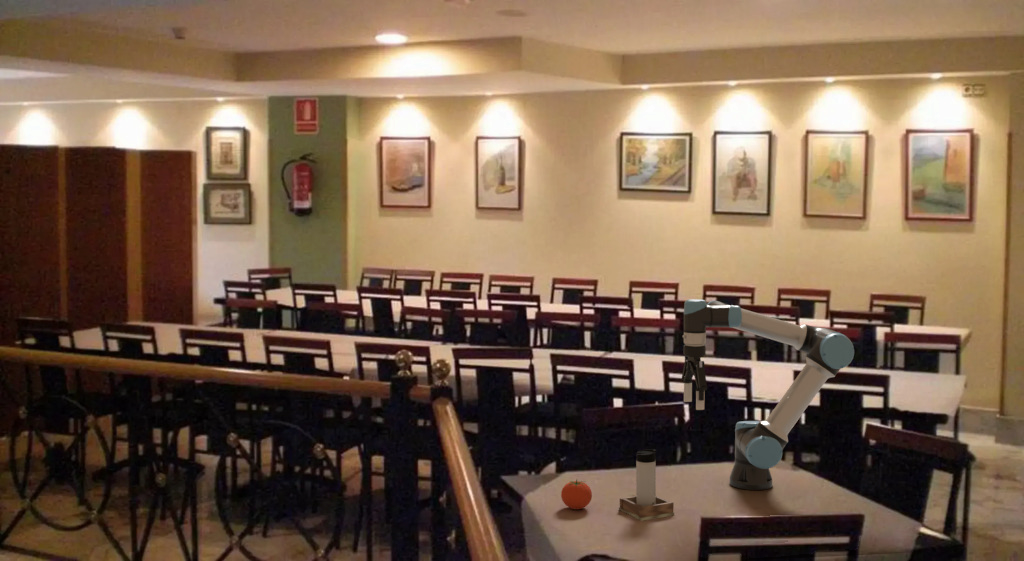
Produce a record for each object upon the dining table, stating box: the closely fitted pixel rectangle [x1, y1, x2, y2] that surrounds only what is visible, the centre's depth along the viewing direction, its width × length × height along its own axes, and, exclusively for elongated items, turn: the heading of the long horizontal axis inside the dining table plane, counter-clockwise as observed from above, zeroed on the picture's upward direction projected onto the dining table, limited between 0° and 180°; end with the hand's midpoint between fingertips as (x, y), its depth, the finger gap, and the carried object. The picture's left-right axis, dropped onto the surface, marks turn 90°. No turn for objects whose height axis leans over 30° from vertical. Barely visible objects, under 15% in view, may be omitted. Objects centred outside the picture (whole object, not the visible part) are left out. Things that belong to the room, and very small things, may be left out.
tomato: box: [560, 478, 593, 510], centre depth 347 cm, size 10×10×10 cm
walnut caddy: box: [618, 495, 675, 522], centre depth 343 cm, size 13×13×4 cm
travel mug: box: [635, 448, 658, 507], centre depth 342 cm, size 6×7×20 cm
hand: (693, 405), depth 360 cm, fingers open, 13 cm apart
